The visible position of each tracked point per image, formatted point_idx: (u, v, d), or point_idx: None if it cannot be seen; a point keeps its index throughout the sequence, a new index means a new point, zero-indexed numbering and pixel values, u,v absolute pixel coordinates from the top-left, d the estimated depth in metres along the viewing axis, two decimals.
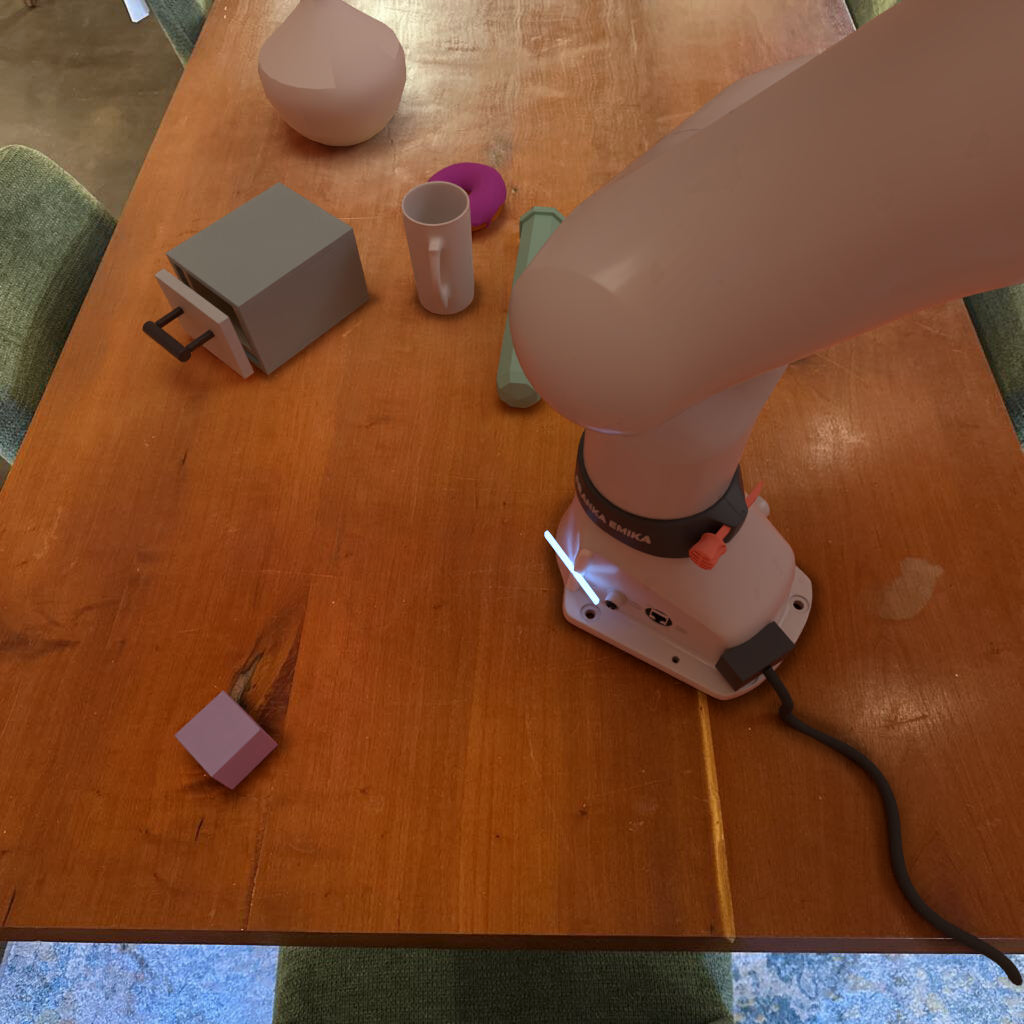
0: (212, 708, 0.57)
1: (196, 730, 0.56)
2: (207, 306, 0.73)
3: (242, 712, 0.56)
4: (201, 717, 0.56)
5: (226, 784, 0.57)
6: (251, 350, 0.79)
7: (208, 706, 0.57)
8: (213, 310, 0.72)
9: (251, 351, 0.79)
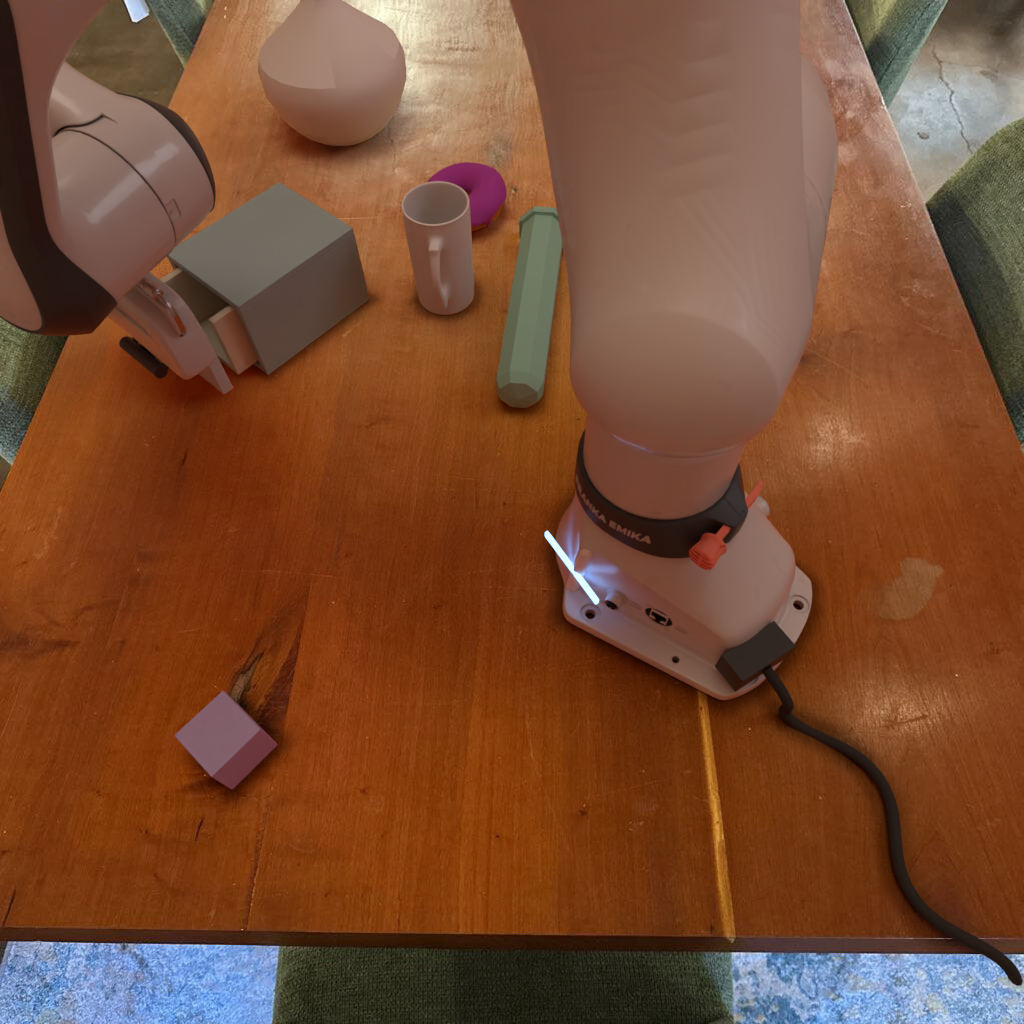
0: (212, 708, 0.57)
1: (196, 730, 0.56)
2: None
3: (242, 712, 0.56)
4: (201, 717, 0.56)
5: (226, 784, 0.57)
6: (230, 365, 0.78)
7: (208, 706, 0.57)
8: None
9: (230, 366, 0.78)
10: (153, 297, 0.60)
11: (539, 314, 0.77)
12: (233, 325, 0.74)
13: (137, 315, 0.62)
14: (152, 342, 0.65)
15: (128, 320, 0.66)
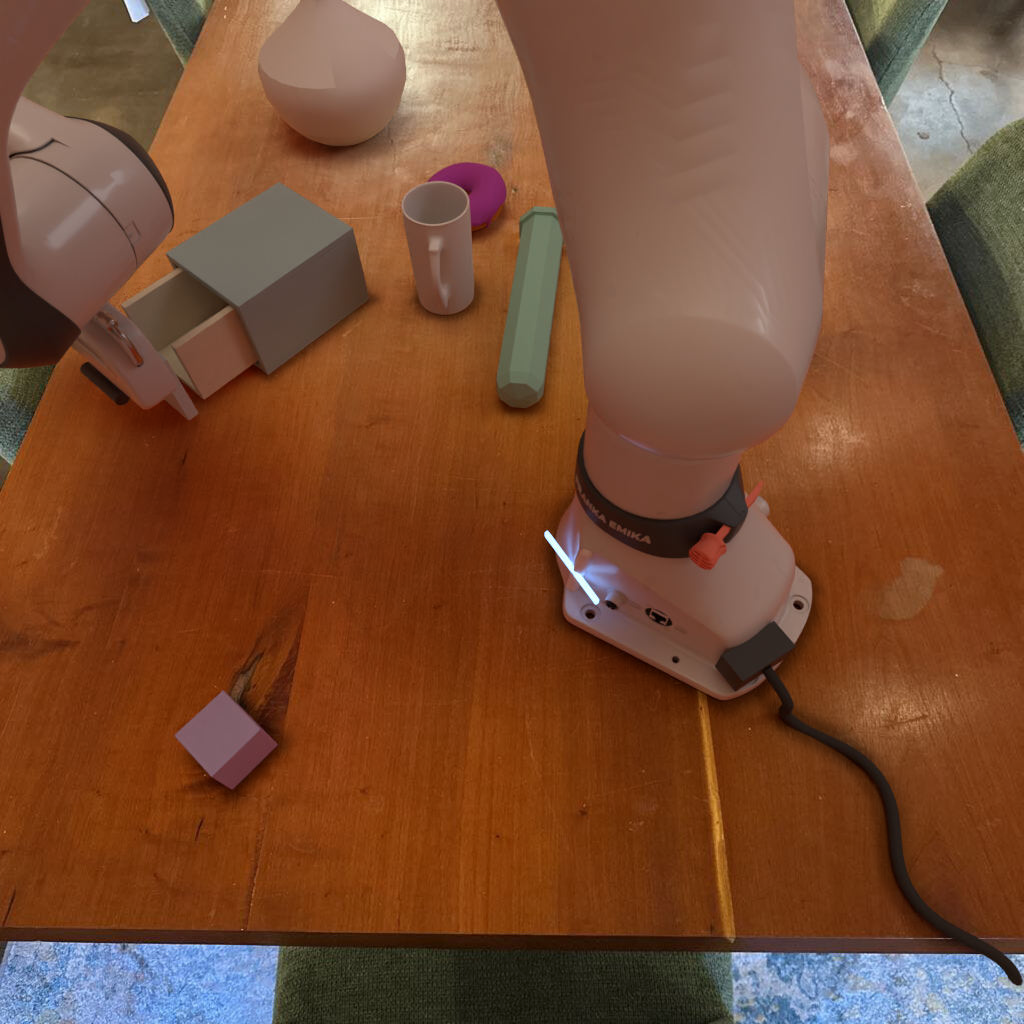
0: (212, 708, 0.57)
1: (196, 730, 0.56)
2: None
3: (242, 712, 0.56)
4: (201, 717, 0.56)
5: (226, 784, 0.57)
6: (196, 390, 0.76)
7: (208, 706, 0.57)
8: None
9: (195, 391, 0.76)
10: (107, 328, 0.59)
11: (539, 314, 0.77)
12: (197, 351, 0.72)
13: (92, 345, 0.61)
14: (110, 372, 0.64)
15: (85, 349, 0.64)
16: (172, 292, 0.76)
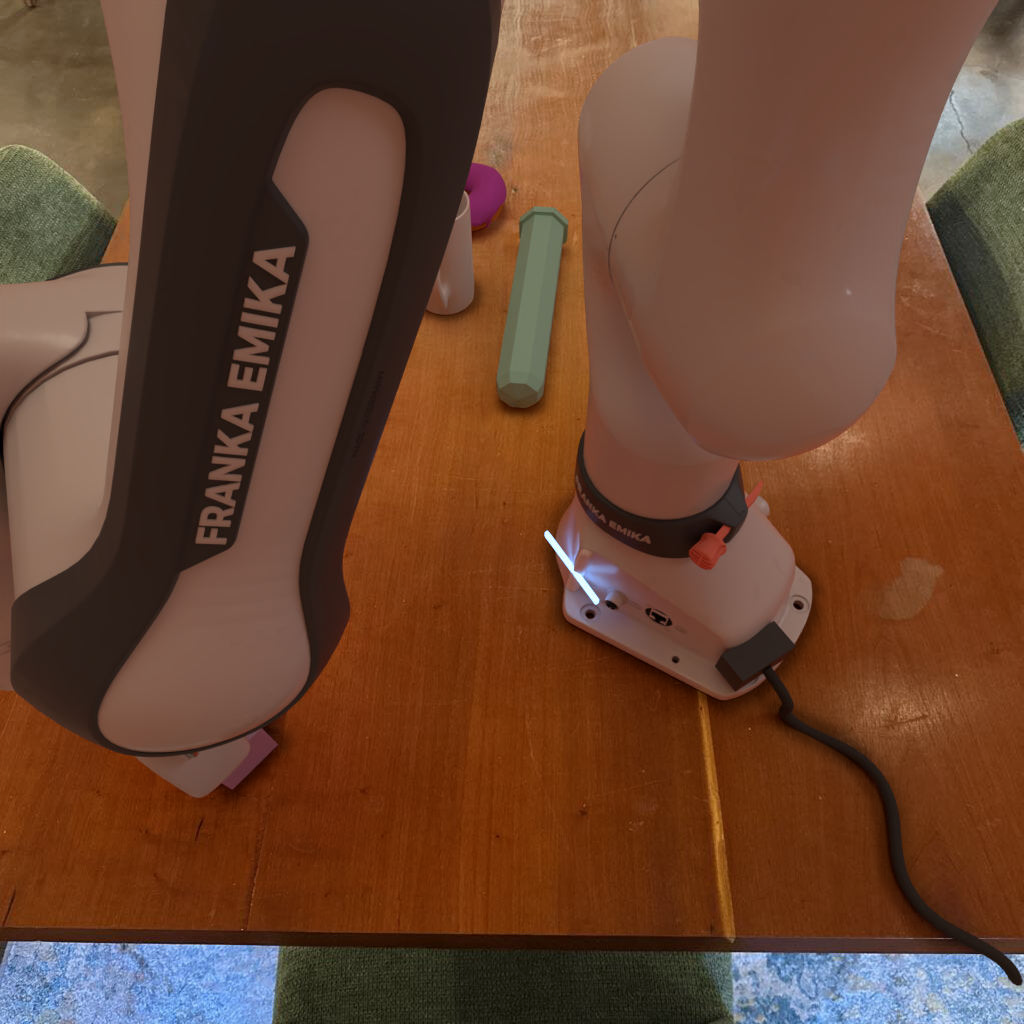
0: None
1: None
2: None
3: None
4: None
5: (226, 784, 0.57)
6: None
7: None
8: None
9: None
10: None
11: (539, 314, 0.77)
12: None
13: None
14: None
15: None
16: None
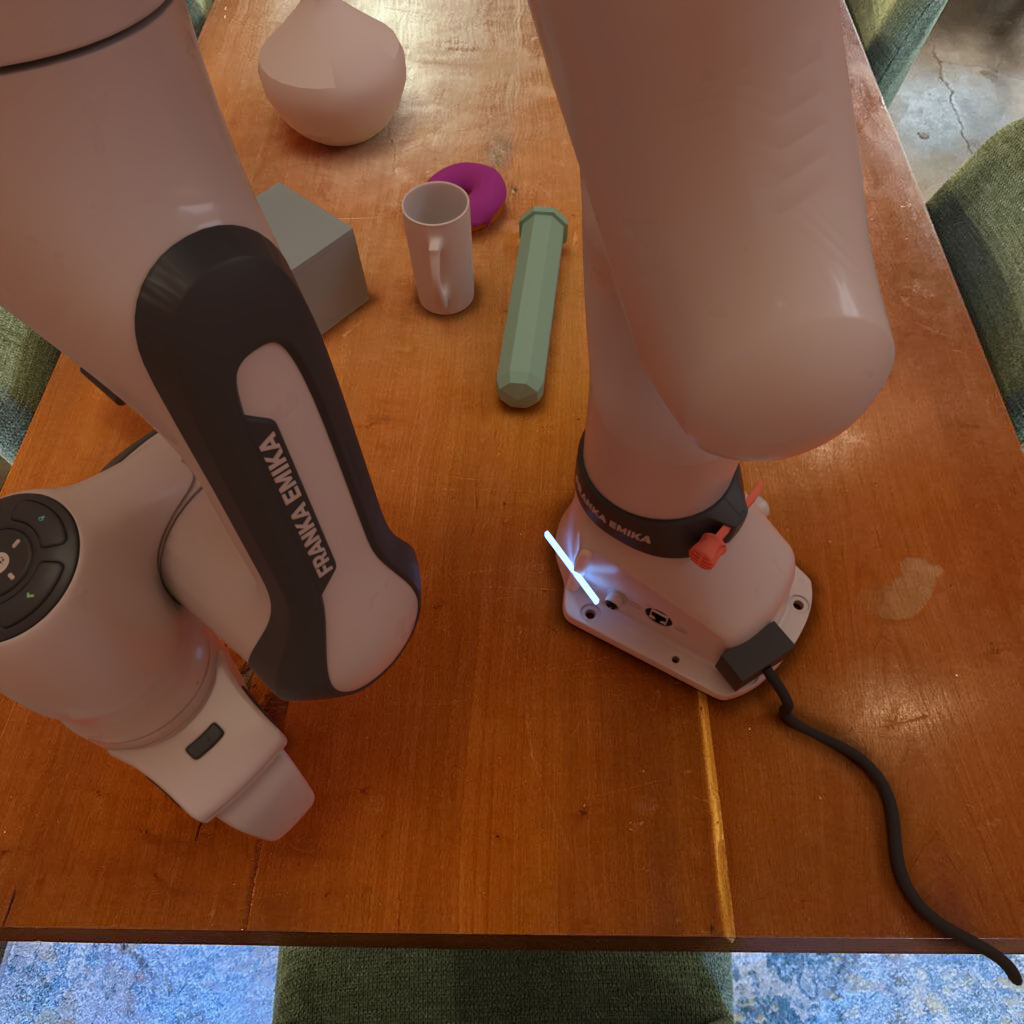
0: None
1: None
2: None
3: None
4: None
5: None
6: None
7: None
8: None
9: None
10: None
11: (539, 314, 0.77)
12: None
13: None
14: None
15: None
16: None
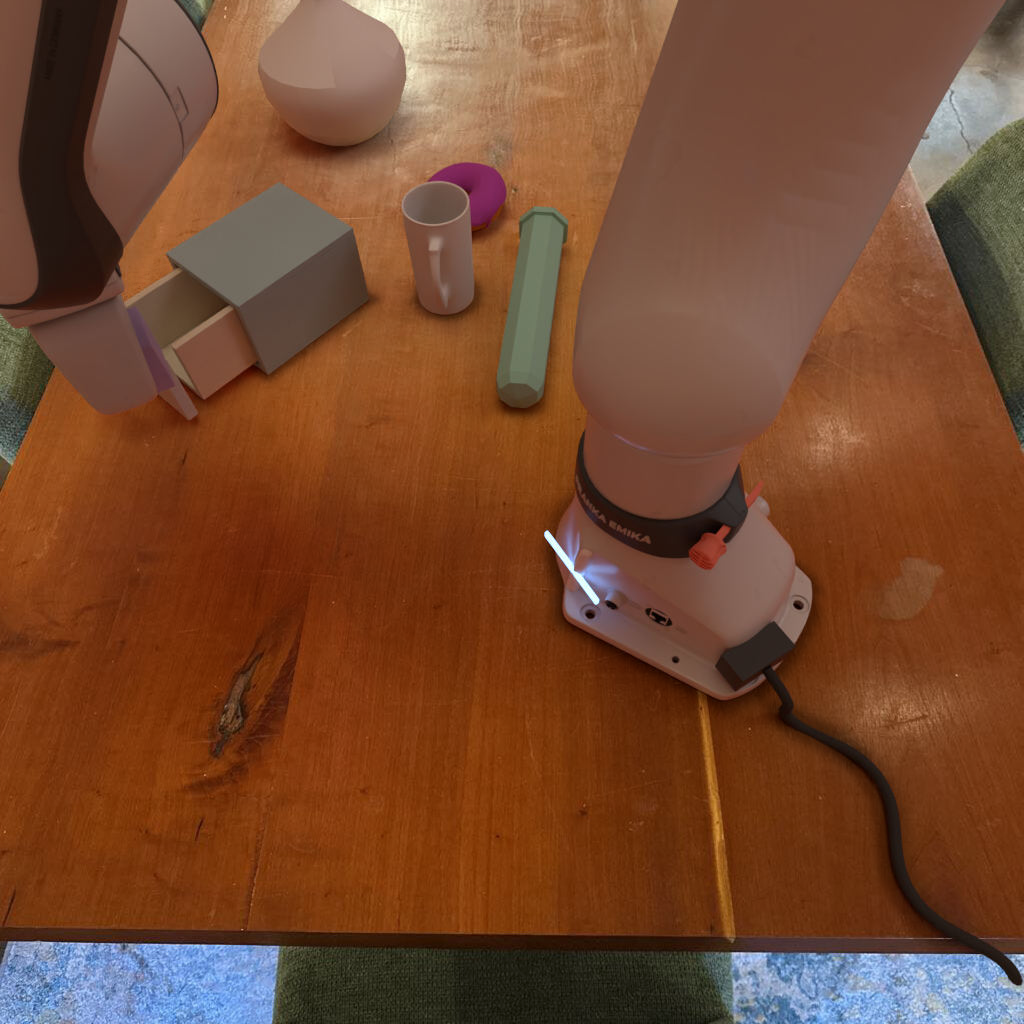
0: None
1: None
2: None
3: (142, 327, 0.55)
4: None
5: None
6: (195, 390, 0.76)
7: None
8: None
9: (195, 391, 0.76)
10: None
11: (539, 314, 0.77)
12: (197, 351, 0.72)
13: None
14: None
15: None
16: (172, 292, 0.76)
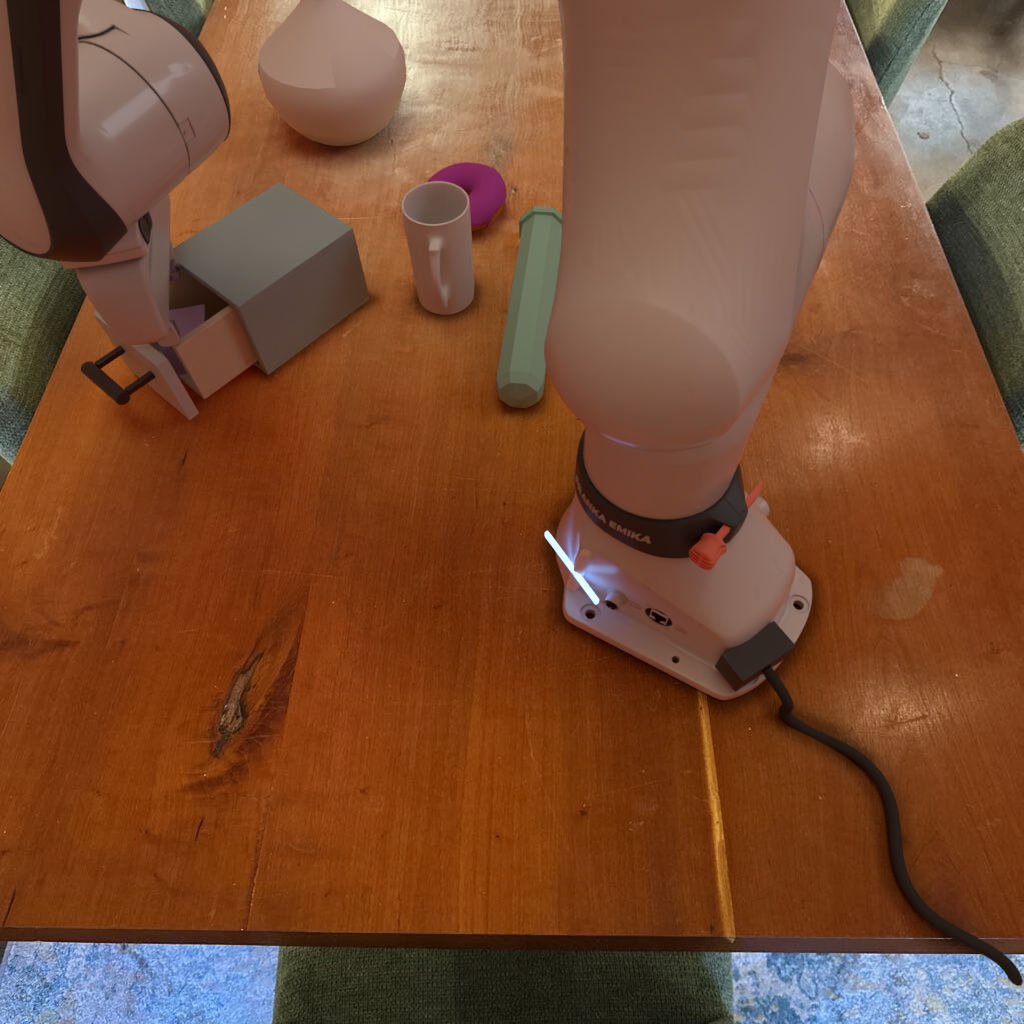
0: (190, 310, 0.76)
1: (171, 316, 0.75)
2: (146, 347, 0.70)
3: (203, 321, 0.75)
4: (180, 311, 0.76)
5: None
6: (196, 390, 0.76)
7: (189, 307, 0.76)
8: (152, 352, 0.70)
9: (196, 391, 0.76)
10: None
11: (539, 314, 0.77)
12: (198, 350, 0.72)
13: None
14: None
15: None
16: (173, 292, 0.76)
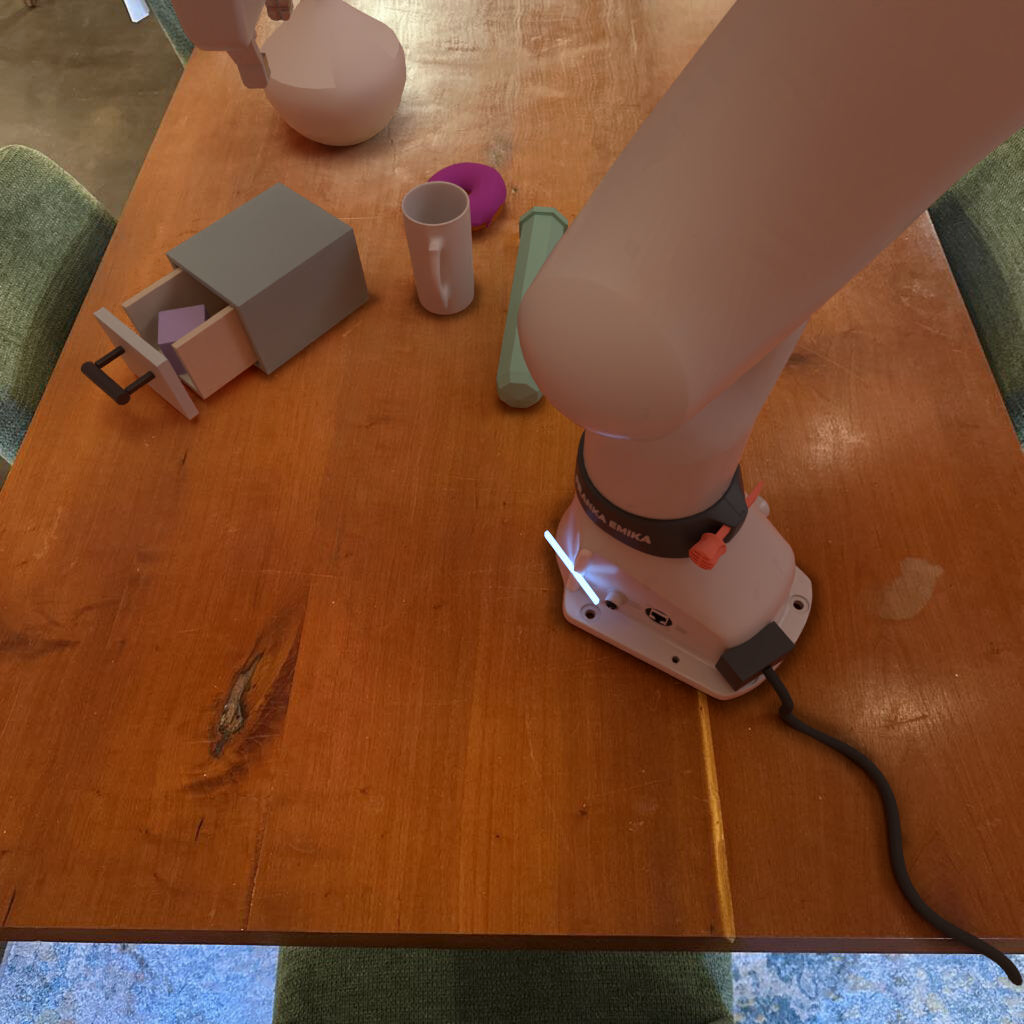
0: (190, 310, 0.76)
1: (171, 316, 0.75)
2: (146, 347, 0.70)
3: (203, 321, 0.75)
4: (180, 311, 0.76)
5: None
6: (196, 390, 0.76)
7: (189, 307, 0.76)
8: (152, 352, 0.70)
9: (196, 391, 0.76)
10: None
11: None
12: (198, 350, 0.72)
13: None
14: None
15: None
16: (173, 292, 0.76)
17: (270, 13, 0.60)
